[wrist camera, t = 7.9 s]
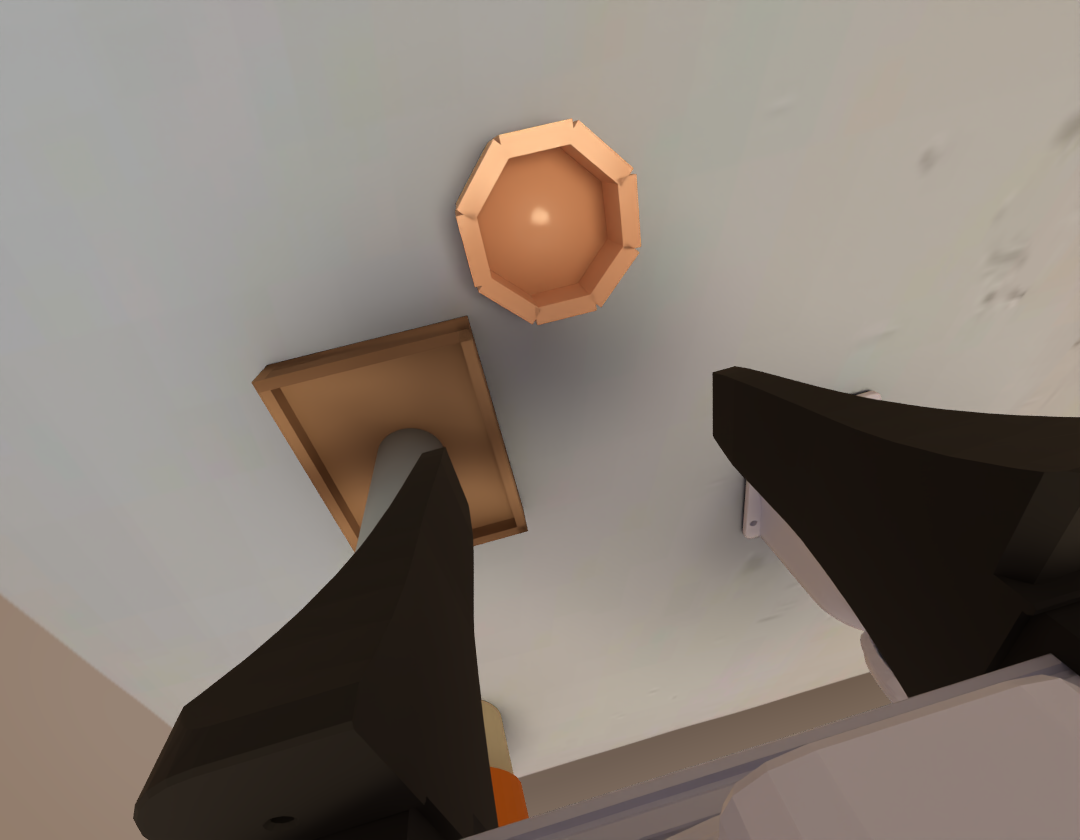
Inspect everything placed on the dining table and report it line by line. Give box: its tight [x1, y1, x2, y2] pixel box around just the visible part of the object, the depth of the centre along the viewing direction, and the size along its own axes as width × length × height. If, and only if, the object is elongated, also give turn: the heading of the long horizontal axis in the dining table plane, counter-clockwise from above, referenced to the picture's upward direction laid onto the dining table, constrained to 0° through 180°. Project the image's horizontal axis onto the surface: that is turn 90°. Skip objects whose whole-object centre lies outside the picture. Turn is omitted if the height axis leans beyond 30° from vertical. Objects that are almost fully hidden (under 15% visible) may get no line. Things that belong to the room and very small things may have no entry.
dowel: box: [355, 428, 443, 552], centre depth 18 cm, size 3×3×8 cm
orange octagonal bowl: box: [455, 119, 641, 325], centre depth 17 cm, size 7×7×3 cm
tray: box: [252, 316, 528, 552], centre depth 22 cm, size 12×9×2 cm
